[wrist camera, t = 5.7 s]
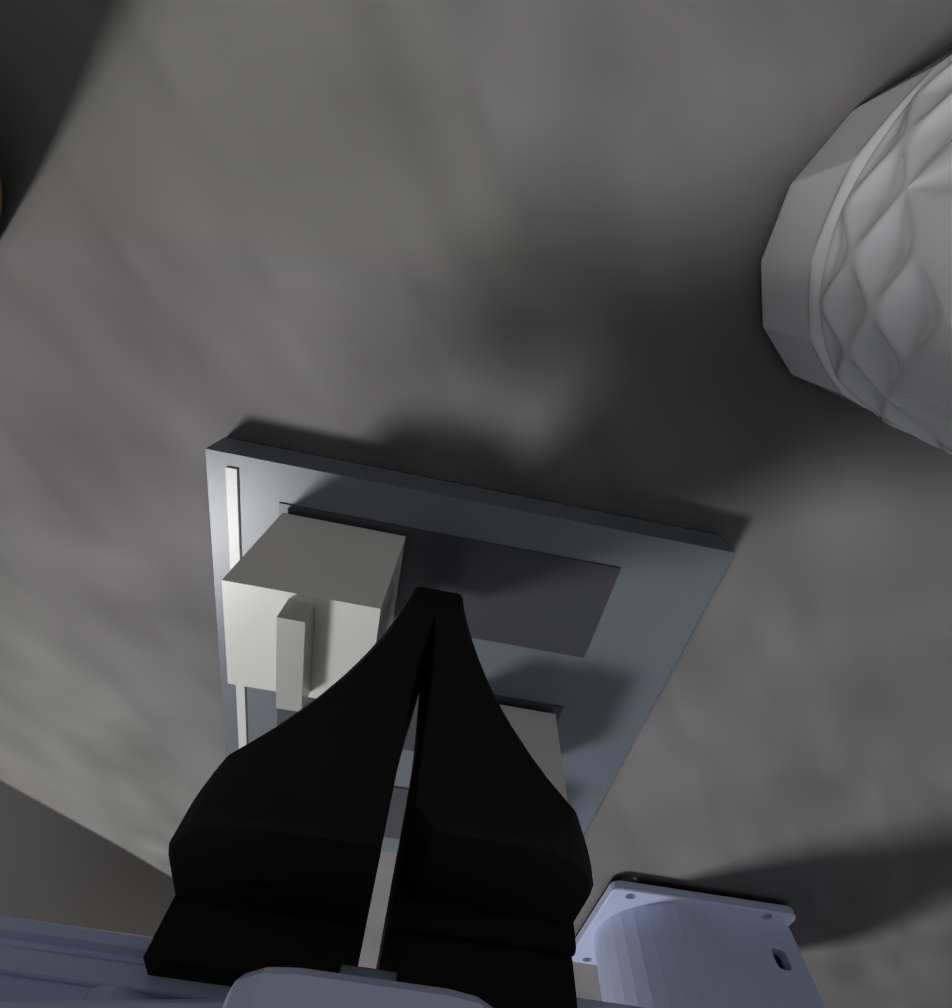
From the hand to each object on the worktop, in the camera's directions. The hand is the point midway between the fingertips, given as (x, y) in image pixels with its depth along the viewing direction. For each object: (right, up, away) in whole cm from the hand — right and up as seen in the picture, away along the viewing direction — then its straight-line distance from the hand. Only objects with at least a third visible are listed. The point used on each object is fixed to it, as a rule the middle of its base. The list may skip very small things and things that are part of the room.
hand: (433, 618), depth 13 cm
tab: (-3, +1, +1) cm, 3 cm away
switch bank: (0, -4, +5) cm, 6 cm away
